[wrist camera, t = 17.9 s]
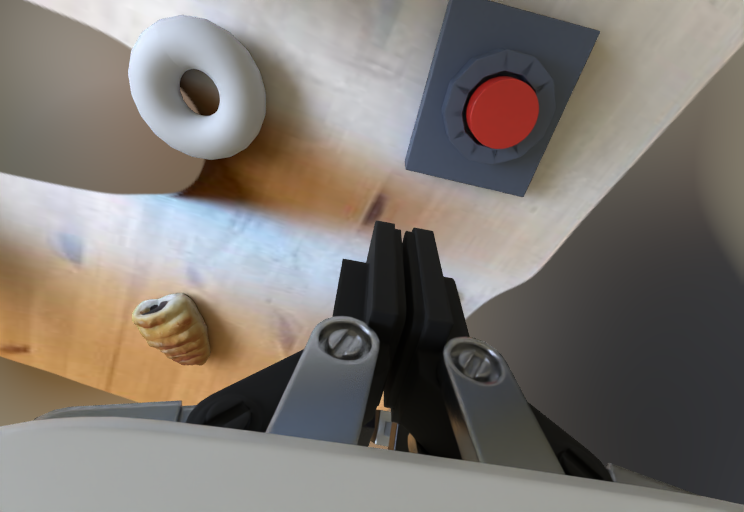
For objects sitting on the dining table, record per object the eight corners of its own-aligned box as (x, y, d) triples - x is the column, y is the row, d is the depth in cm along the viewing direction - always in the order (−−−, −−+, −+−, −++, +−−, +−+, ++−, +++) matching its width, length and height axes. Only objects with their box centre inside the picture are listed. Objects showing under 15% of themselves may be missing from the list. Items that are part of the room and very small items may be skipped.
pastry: (229, 349, 45) (215, 375, 41) (180, 359, 46) (163, 384, 43) (187, 287, 40) (168, 310, 37) (134, 299, 41) (112, 322, 38)
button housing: (450, -7, 26) (459, -12, 23) (586, 31, 27) (614, 31, 23) (404, 161, 32) (405, 177, 29) (516, 187, 33) (530, 206, 29)
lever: (399, 409, 17) (391, 470, 16) (505, 429, 17) (503, 489, 16) (358, 406, 32) (353, 437, 31) (416, 417, 32) (412, 448, 31)
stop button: (479, 68, 25) (484, 70, 24) (542, 85, 25) (551, 88, 24) (457, 134, 27) (460, 140, 26) (514, 148, 28) (521, 155, 26)
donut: (214, 174, 34) (297, 105, 30) (197, 188, 31) (286, 114, 27) (120, 73, 30) (202, -19, 26) (89, 79, 27) (177, -24, 23)
